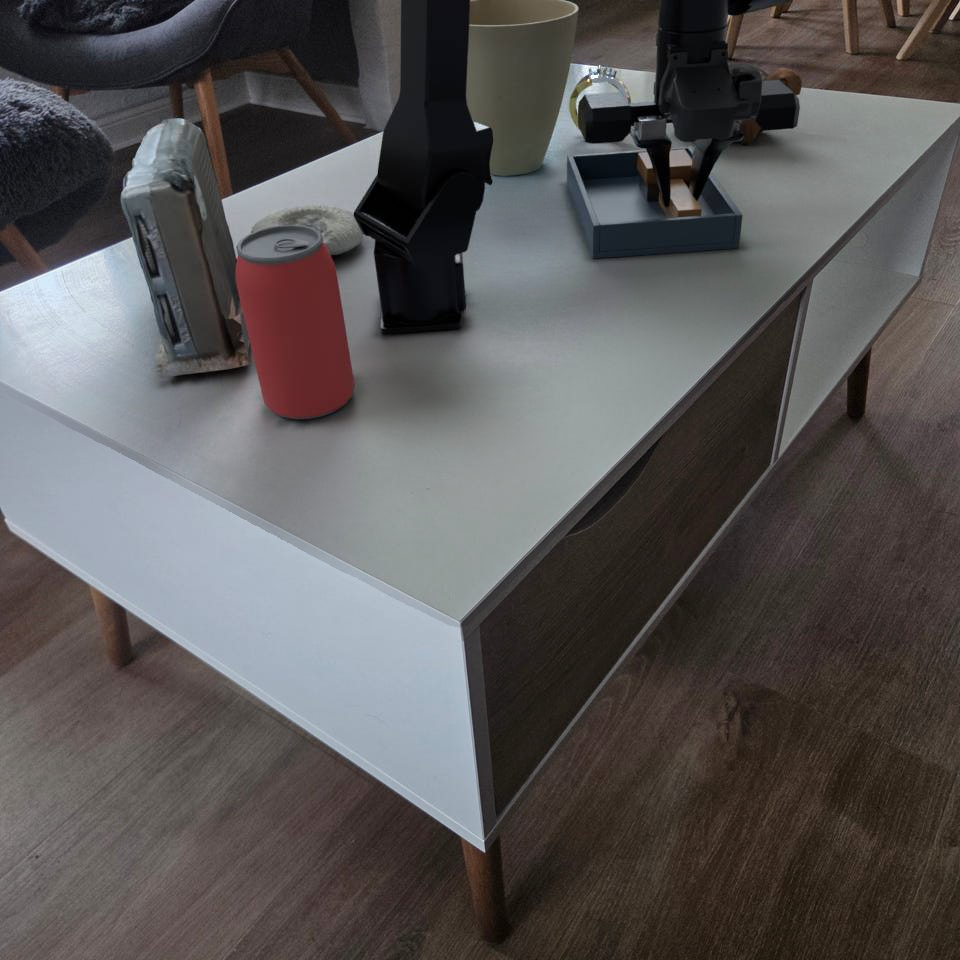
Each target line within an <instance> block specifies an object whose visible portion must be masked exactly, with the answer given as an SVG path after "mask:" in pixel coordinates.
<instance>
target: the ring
mask: <svg viewBox="0 0 960 960" xmlns="http://www.w3.org/2000/svg"><path fill="white" fill-rule="evenodd" d="M612 71H613V73H612ZM617 73H618V70H615V69H614V70H613V67H609V70H608V66H607V65H605V66H604V67H602V65H601V64H599V65H597V68H596V70H594V71H592V67H590V68H588V74H586V75H584V76H583V77H582V78H581V79H580V80H579V81H578V82H577V84H576V85H575V87H574V88H573V91H572V93H571V94H570V98H569V101H568V111H569V114H570V118H571V119H572V122H573V124H574V125H575V127H576V128H577V129H578V130H579V131H580V129H579V126H578V107H577V102H578V101H577V100H578V98H579V96H580V95H581V93H582V92H583V91H584V90H586V89H587V88H589V87H591V86H593V83H594V84H601V83H608V84H610V85H612V86H613V87H614V88H615V89H616V90H617V91H618V92H622V93H623V95H624V97H625V98H626V100H627V101H628V103H632V101H631V100H632V99H631V94H630V92H629V89H628V87H627V86H626V84H625V83H624V82H623V81H622V80H620V79H619V78H618V77H617Z"/></svg>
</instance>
